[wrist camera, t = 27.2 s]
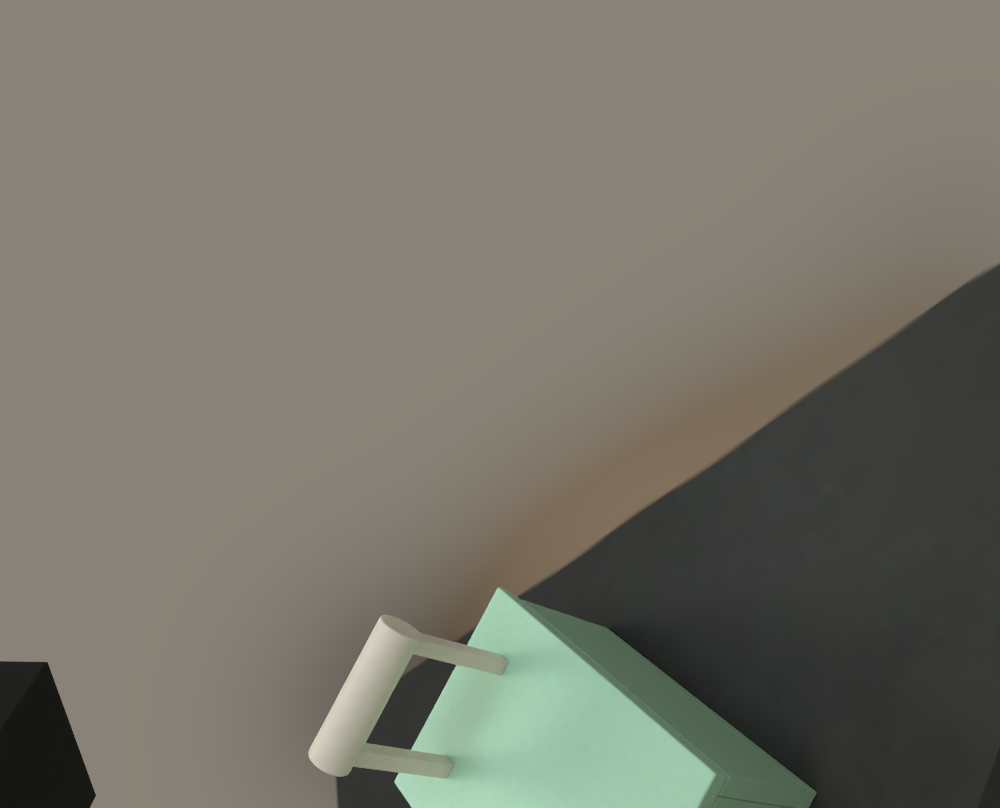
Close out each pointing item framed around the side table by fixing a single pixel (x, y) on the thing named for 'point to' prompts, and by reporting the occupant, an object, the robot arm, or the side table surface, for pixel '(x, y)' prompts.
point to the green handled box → (513, 724)
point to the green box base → (688, 719)
